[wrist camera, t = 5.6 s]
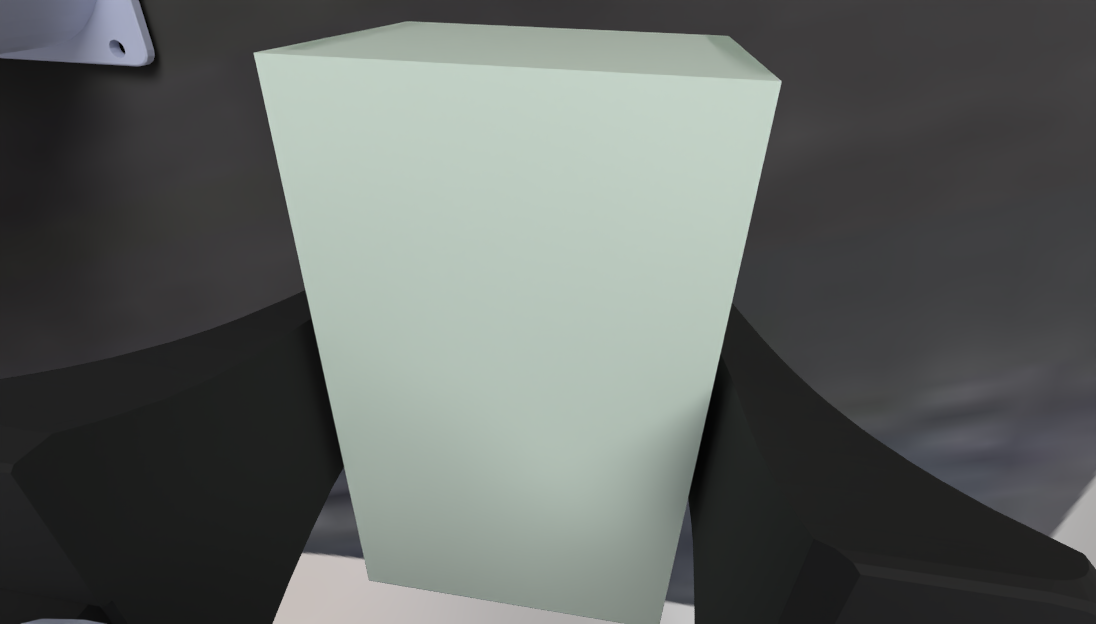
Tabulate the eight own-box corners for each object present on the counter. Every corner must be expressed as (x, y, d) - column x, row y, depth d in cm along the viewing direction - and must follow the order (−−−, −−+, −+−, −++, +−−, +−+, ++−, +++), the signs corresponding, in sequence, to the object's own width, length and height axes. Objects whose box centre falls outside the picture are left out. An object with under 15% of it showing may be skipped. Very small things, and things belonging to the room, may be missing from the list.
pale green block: (443, 421, 16) (368, 579, 12) (407, 21, 11) (253, 53, 6) (656, 449, 15) (658, 629, 11) (728, 35, 10) (782, 80, 6)
